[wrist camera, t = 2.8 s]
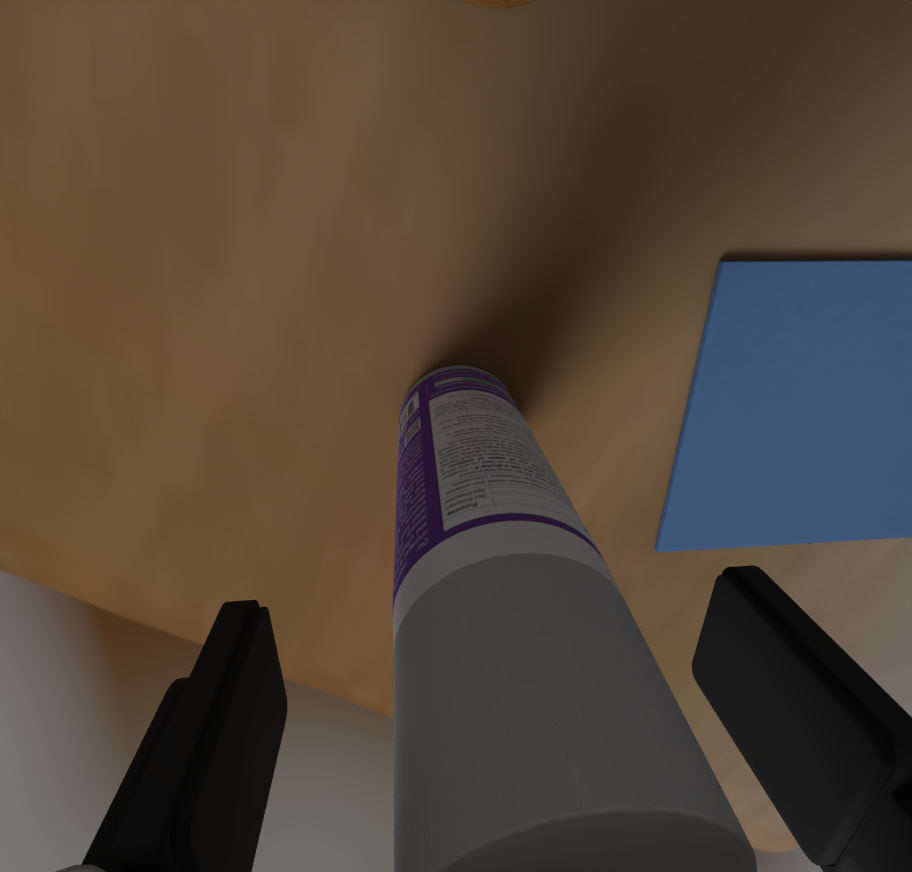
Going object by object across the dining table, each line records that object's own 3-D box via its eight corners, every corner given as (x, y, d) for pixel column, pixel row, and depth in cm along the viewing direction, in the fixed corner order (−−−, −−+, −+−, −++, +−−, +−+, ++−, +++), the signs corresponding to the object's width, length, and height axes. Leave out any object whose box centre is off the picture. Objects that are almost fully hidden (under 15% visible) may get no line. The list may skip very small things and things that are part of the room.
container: (449, 492, 21) (533, 1026, 7) (373, 416, 19) (294, 939, 5) (537, 425, 20) (824, 897, 6) (466, 339, 18) (653, 740, 4)
